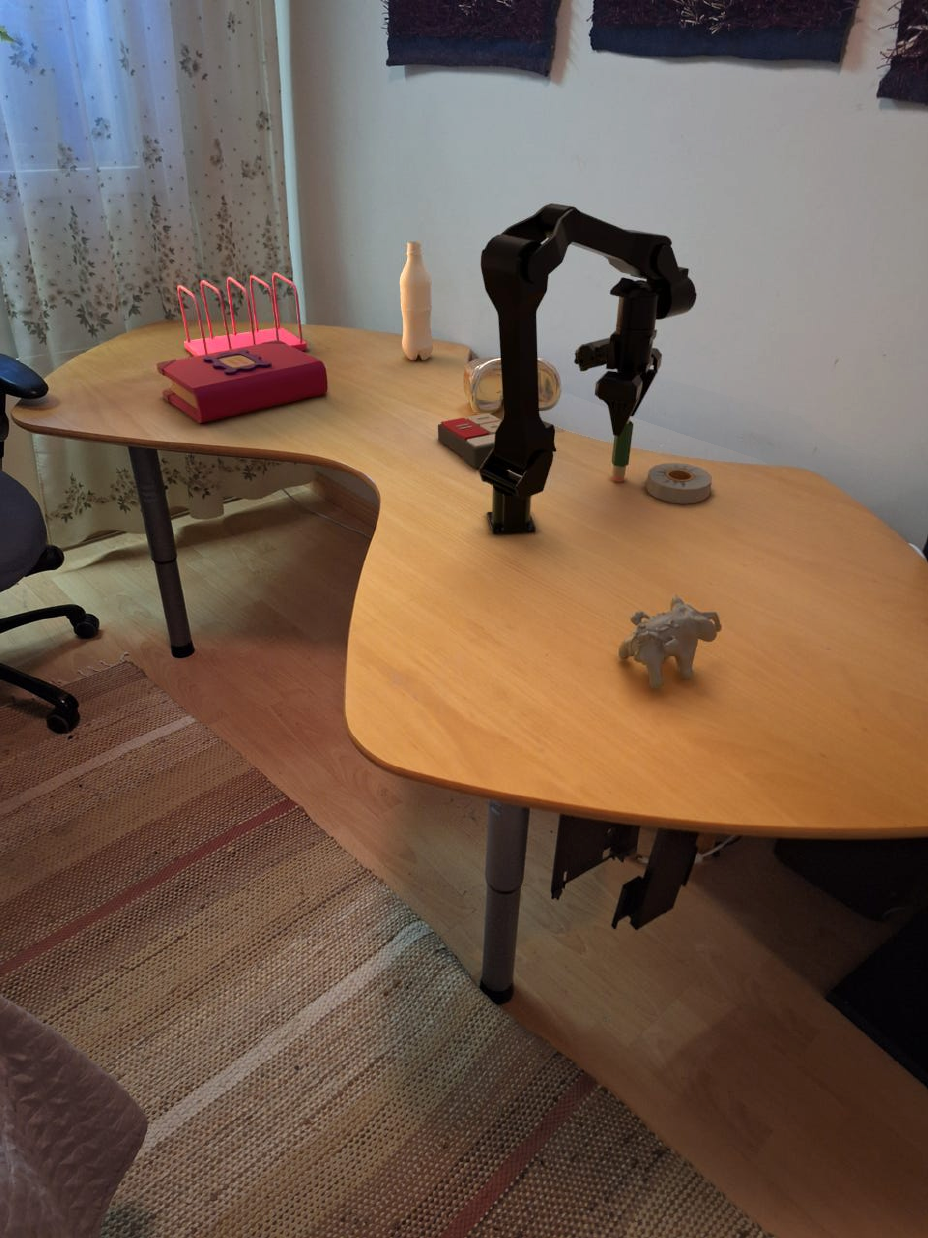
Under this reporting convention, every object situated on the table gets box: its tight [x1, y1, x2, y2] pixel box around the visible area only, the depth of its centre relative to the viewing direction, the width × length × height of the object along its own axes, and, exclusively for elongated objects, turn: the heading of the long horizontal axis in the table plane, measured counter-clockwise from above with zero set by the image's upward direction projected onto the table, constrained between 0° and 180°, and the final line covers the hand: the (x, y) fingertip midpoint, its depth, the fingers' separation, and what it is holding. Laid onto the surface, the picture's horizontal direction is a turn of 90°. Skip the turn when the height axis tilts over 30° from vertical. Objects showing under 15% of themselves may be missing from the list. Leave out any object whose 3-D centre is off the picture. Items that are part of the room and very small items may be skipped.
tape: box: [645, 462, 713, 505], centre depth 129 cm, size 10×10×3 cm
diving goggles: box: [463, 356, 562, 415], centre depth 157 cm, size 18×11×14 cm, turn 101°
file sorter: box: [177, 272, 308, 357], centre depth 190 cm, size 17×25×16 cm
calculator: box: [437, 413, 502, 469], centre depth 143 cm, size 11×4×15 cm
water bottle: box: [399, 240, 434, 361], centre depth 182 cm, size 7×7×25 cm
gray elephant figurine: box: [618, 593, 723, 691], centre depth 90 cm, size 9×12×8 cm
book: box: [156, 340, 329, 424], centre depth 165 cm, size 21×28×8 cm
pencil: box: [611, 417, 635, 483], centre depth 130 cm, size 2×3×12 cm
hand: (623, 425), depth 128 cm, fingers open, 9 cm apart
